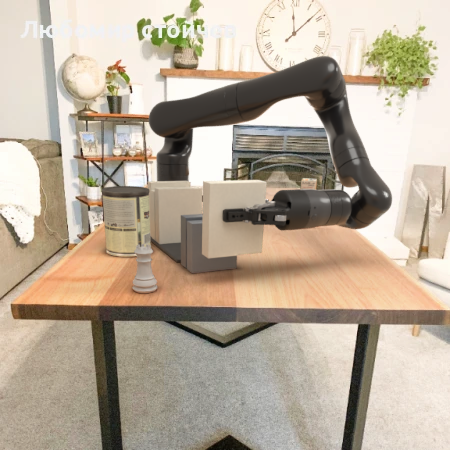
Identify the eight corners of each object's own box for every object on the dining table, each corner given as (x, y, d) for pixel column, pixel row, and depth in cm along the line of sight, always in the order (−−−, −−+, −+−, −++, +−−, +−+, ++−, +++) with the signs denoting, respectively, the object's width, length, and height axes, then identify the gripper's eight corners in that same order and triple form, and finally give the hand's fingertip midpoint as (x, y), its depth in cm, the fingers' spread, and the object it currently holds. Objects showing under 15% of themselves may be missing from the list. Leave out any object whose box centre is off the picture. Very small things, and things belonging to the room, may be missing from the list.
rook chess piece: (133, 285, 81) (131, 242, 78) (158, 285, 81) (157, 242, 78) (131, 294, 77) (128, 249, 74) (157, 294, 77) (155, 249, 74)
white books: (144, 236, 116) (143, 180, 111) (187, 233, 121) (187, 180, 116) (177, 262, 95) (176, 195, 90) (227, 257, 100) (229, 193, 95)
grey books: (180, 264, 94) (180, 214, 90) (223, 260, 98) (224, 212, 94) (192, 273, 88) (192, 221, 85) (236, 268, 92) (238, 218, 89)
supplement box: (312, 223, 139) (317, 181, 134) (297, 222, 140) (301, 180, 135) (313, 219, 146) (317, 178, 142) (298, 218, 147) (302, 177, 142)
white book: (201, 254, 81) (202, 181, 76) (254, 249, 85) (258, 179, 80) (208, 258, 78) (209, 183, 73) (262, 253, 83) (267, 182, 78)
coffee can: (107, 245, 106) (103, 185, 101) (150, 245, 108) (149, 186, 103) (103, 257, 97) (99, 191, 91) (151, 256, 98) (149, 192, 93)
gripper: (282, 184, 89) (203, 186, 82) (325, 195, 78) (238, 198, 71) (279, 221, 92) (203, 226, 85) (320, 237, 80) (236, 244, 73)
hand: (219, 213), depth 78 cm, fingers closed on white book, 3 cm apart
